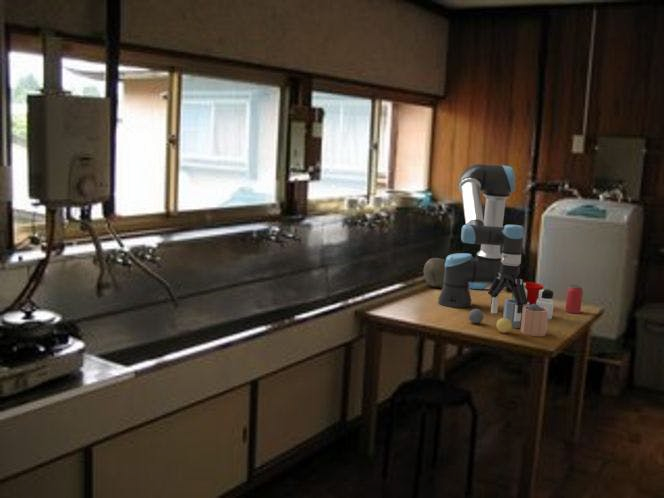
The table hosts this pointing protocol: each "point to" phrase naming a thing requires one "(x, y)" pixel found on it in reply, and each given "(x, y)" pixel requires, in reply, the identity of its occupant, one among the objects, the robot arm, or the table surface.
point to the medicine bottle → (546, 301)
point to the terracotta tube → (534, 322)
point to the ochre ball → (504, 325)
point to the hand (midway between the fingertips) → (505, 316)
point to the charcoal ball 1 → (476, 316)
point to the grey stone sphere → (435, 272)
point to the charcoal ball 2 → (534, 307)
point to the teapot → (477, 285)
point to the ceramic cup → (533, 292)
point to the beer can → (574, 299)
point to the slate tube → (512, 312)
